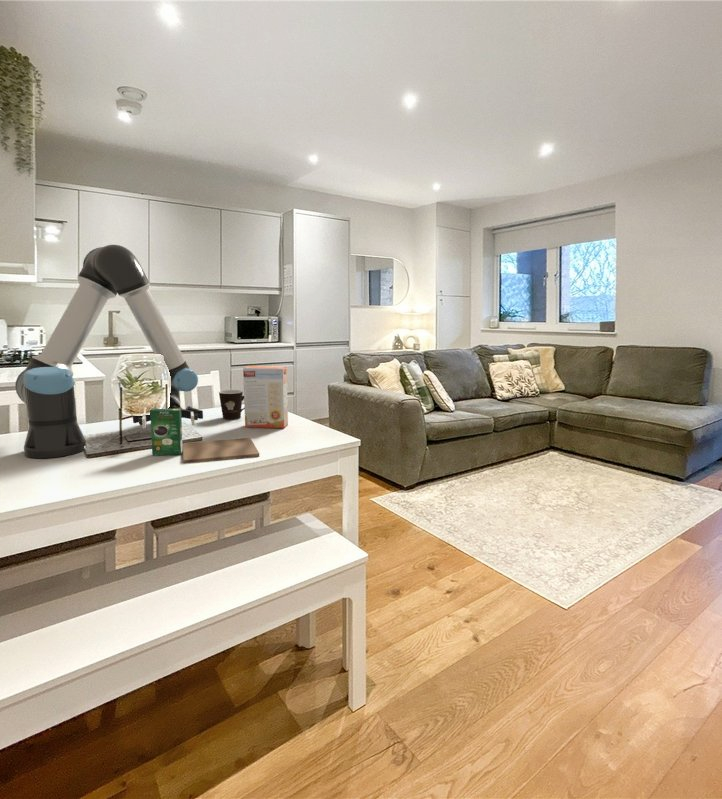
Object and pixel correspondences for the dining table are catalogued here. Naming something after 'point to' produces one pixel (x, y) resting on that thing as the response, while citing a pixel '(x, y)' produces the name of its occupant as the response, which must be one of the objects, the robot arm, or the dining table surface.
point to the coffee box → (166, 431)
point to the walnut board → (219, 450)
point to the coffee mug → (231, 404)
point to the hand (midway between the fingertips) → (168, 422)
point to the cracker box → (265, 396)
